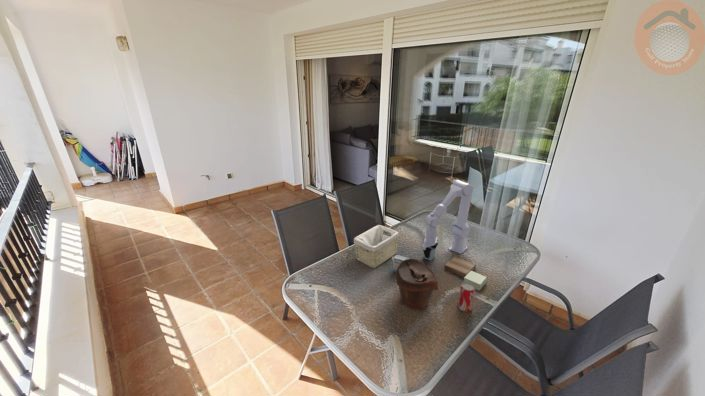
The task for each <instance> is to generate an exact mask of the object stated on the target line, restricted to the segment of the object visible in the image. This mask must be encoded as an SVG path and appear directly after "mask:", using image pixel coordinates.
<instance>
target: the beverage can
mask: <svg viewBox="0 0 705 396" xmlns="http://www.w3.org/2000/svg"><path fill="white" fill-rule="evenodd" d="M475 295H476V289H474V286H473V285H472V284H470V283H464V282H463V283H462V284H461V285H460V287H459V293H458V299H457V300H458V301H457V307H458V309H459V310H460V311H463V312H466V313H470V312H472V310H473V307H474V300H475V297H476V296H475Z"/></svg>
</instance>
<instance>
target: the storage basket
mask: <svg viewBox="0 0 705 396" xmlns="http://www.w3.org/2000/svg"><path fill="white" fill-rule="evenodd" d="M384 232H386V233H389V234H390V236H389V235H386V234H384ZM398 242H399V231H397V230H394V229H392V228H389V227H386V226H385V225H381V224H377V225H375V226H373V227H371V228H369V229H368V230H366V231H364V232H363V233H360V234H359V235H356V236H355V237H354V238H353V243H354V249H355V254H356V255H355V256H356V259H357V261H359V262H361V263H363V264H365V265H367V266H369V267H370V268H373V269H375V268H377V267H378V266H380V265H381V264H383V263H384V262H386V261H388V259H390V258H391V257H393V256H394V255H396V254H397V250H398Z"/></svg>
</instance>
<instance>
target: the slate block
mask: <svg viewBox="0 0 705 396" xmlns="http://www.w3.org/2000/svg"><path fill="white" fill-rule="evenodd" d="M429 248H430V249H432V250H431V251H430V254H429V258H426V257H425V255H424V254H423V259H425V260H428V261H430V262H431V261H432V260H433V259H434V258H435V254H436V249H435V248H432V247H429Z"/></svg>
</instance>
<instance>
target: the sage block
mask: <svg viewBox="0 0 705 396" xmlns="http://www.w3.org/2000/svg"><path fill="white" fill-rule="evenodd" d="M486 282H487V276H485V275H482V274H480V273H478V272H476V271H474V270H473V271H470V272H469V273H468V274H467V275H466V276H465V277H463V283H470V284H472V285H473V286H474V289H475V291H480V290H482V288H483V287H484V286H485V285H486Z"/></svg>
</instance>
